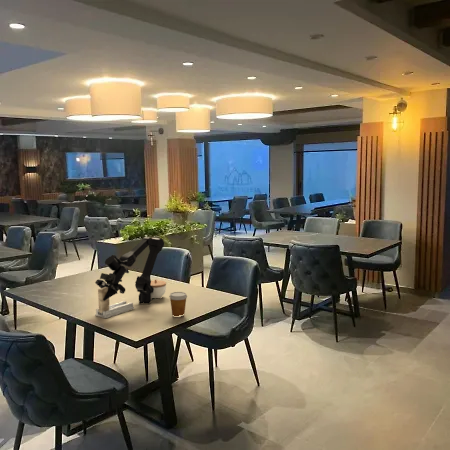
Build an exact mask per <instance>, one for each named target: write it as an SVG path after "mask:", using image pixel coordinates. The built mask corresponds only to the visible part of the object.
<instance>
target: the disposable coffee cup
mask: <svg viewBox="0 0 450 450" xmlns="http://www.w3.org/2000/svg"><path fill="white" fill-rule="evenodd" d="M187 297H188V295H187V293H186V292H184V291H173V292H170V294H169V297H168V298H169V300H170V307H171V315H174V316H179V315H183V314H184V315H185V312H186V311H185V310H186V303H187Z"/></svg>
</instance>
